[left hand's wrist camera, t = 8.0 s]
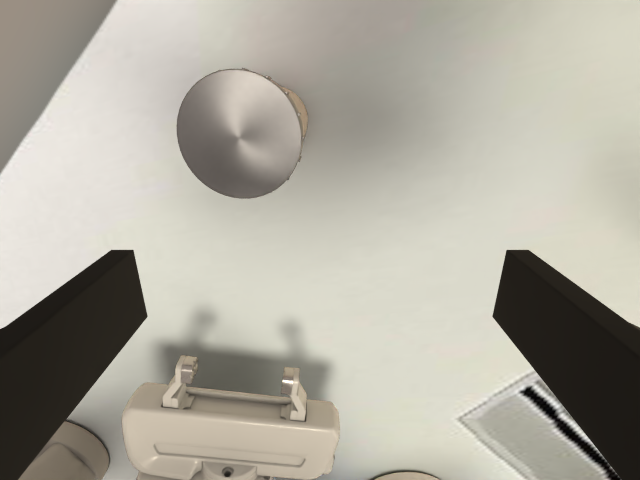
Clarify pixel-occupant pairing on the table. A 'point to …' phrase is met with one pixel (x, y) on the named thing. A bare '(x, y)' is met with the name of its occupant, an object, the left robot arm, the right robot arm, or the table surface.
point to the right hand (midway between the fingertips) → (239, 366)
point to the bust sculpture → (69, 457)
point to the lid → (240, 133)
